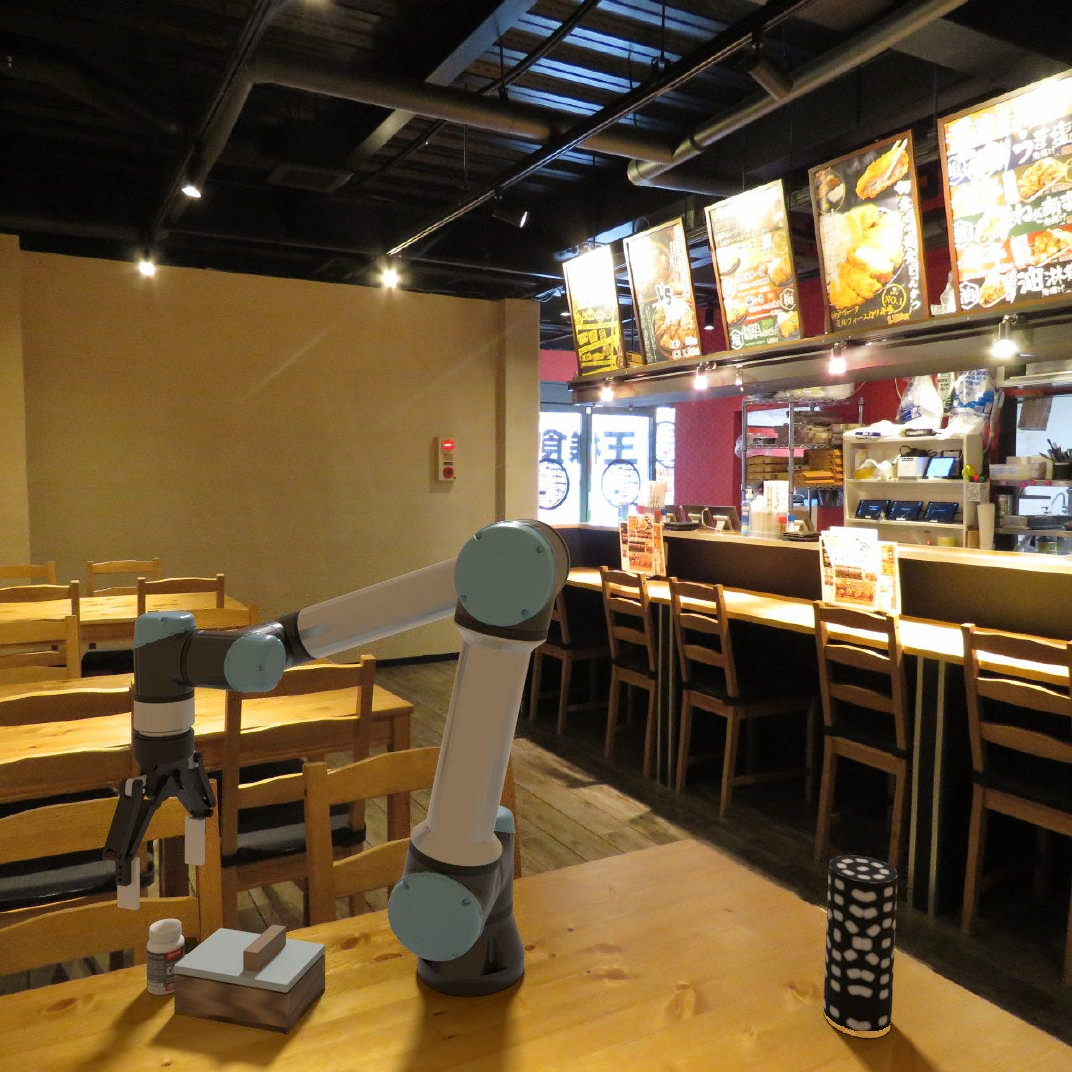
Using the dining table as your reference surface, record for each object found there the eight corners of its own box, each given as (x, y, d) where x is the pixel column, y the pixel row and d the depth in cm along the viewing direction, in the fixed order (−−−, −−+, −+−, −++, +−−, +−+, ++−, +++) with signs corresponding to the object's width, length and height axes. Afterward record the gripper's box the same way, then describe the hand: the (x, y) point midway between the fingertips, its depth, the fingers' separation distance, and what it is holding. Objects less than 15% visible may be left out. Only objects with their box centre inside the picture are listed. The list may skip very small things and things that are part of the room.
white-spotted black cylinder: (858, 1046, 110) (865, 888, 109) (809, 1010, 117) (815, 862, 116) (905, 1028, 114) (912, 875, 112) (855, 994, 121) (860, 850, 120)
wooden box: (325, 990, 120) (325, 953, 119) (286, 1034, 110) (286, 994, 110) (220, 971, 124) (220, 937, 123) (174, 1012, 114) (174, 975, 114)
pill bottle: (171, 998, 117) (170, 936, 117) (139, 993, 118) (138, 932, 118) (191, 978, 122) (191, 919, 121) (161, 974, 123) (160, 915, 122)
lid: (325, 951, 119) (325, 926, 119) (286, 992, 110) (286, 965, 110) (220, 934, 123) (220, 910, 123) (174, 972, 114) (174, 946, 114)
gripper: (197, 703, 131) (196, 844, 132) (69, 752, 107) (69, 924, 108) (242, 708, 129) (241, 851, 130) (122, 759, 105) (122, 933, 106)
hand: (163, 884), depth 119 cm, fingers open, 13 cm apart
